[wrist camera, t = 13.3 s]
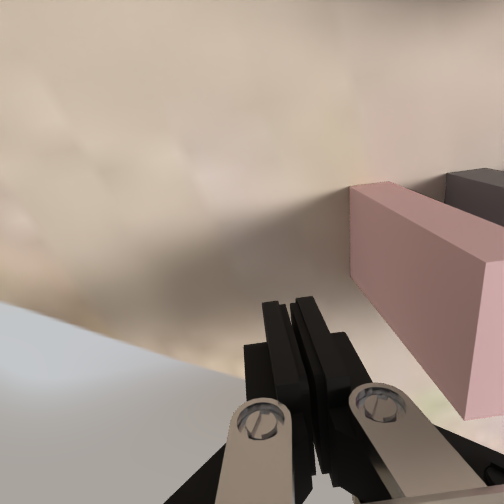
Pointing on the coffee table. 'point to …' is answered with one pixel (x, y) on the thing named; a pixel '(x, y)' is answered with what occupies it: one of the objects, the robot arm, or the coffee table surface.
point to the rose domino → (435, 288)
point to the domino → (477, 193)
